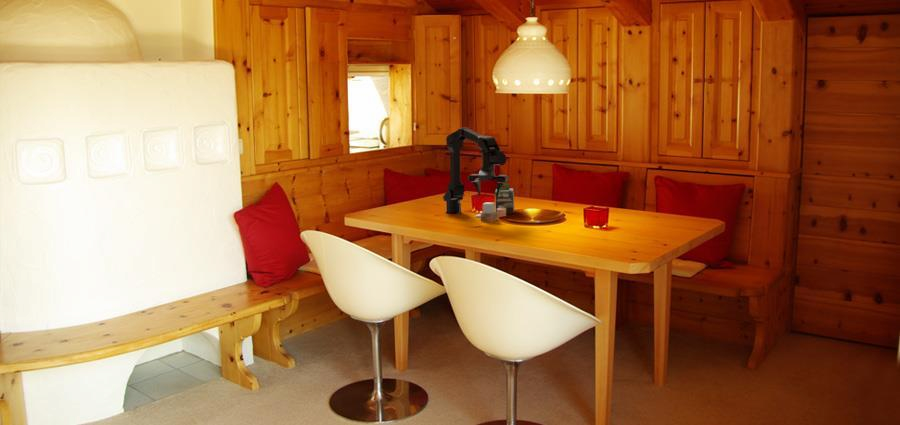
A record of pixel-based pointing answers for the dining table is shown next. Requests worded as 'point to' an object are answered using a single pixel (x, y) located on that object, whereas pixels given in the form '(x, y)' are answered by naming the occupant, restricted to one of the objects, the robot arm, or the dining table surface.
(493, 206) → the blue cube
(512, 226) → the dining table surface
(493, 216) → the walnut block
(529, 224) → the dining table surface
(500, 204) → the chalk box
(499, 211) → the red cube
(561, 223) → the dining table surface
